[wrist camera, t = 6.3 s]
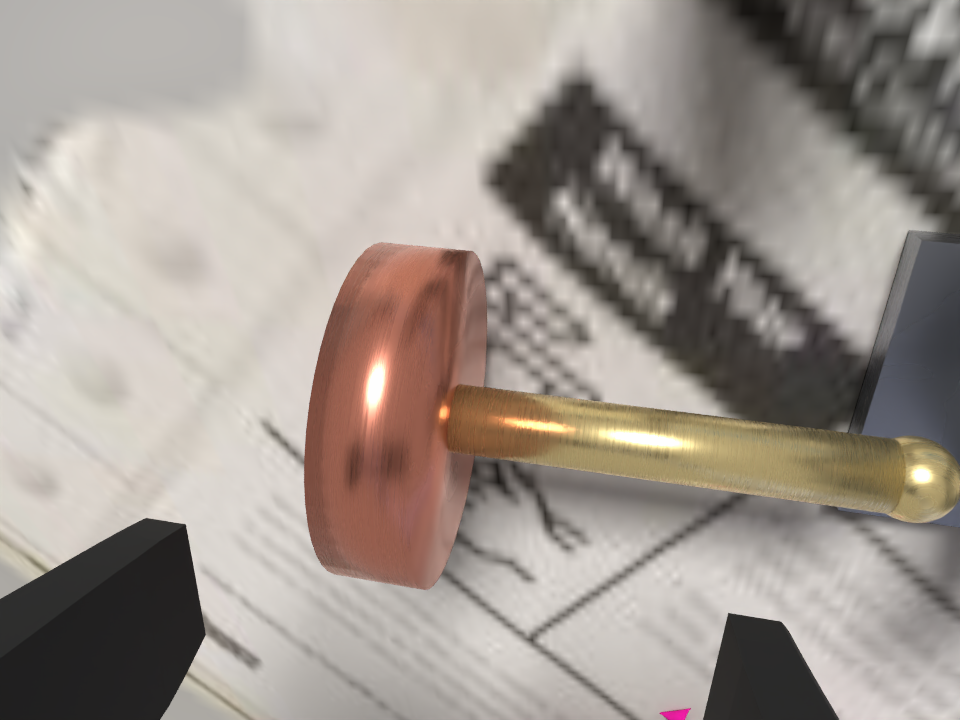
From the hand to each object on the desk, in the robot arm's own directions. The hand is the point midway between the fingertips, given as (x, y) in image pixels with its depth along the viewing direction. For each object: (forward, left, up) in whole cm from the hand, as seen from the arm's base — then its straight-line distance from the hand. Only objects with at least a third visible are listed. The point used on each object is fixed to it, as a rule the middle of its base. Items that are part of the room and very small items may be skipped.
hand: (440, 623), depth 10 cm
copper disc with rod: (-3, -1, -9) cm, 10 cm away
